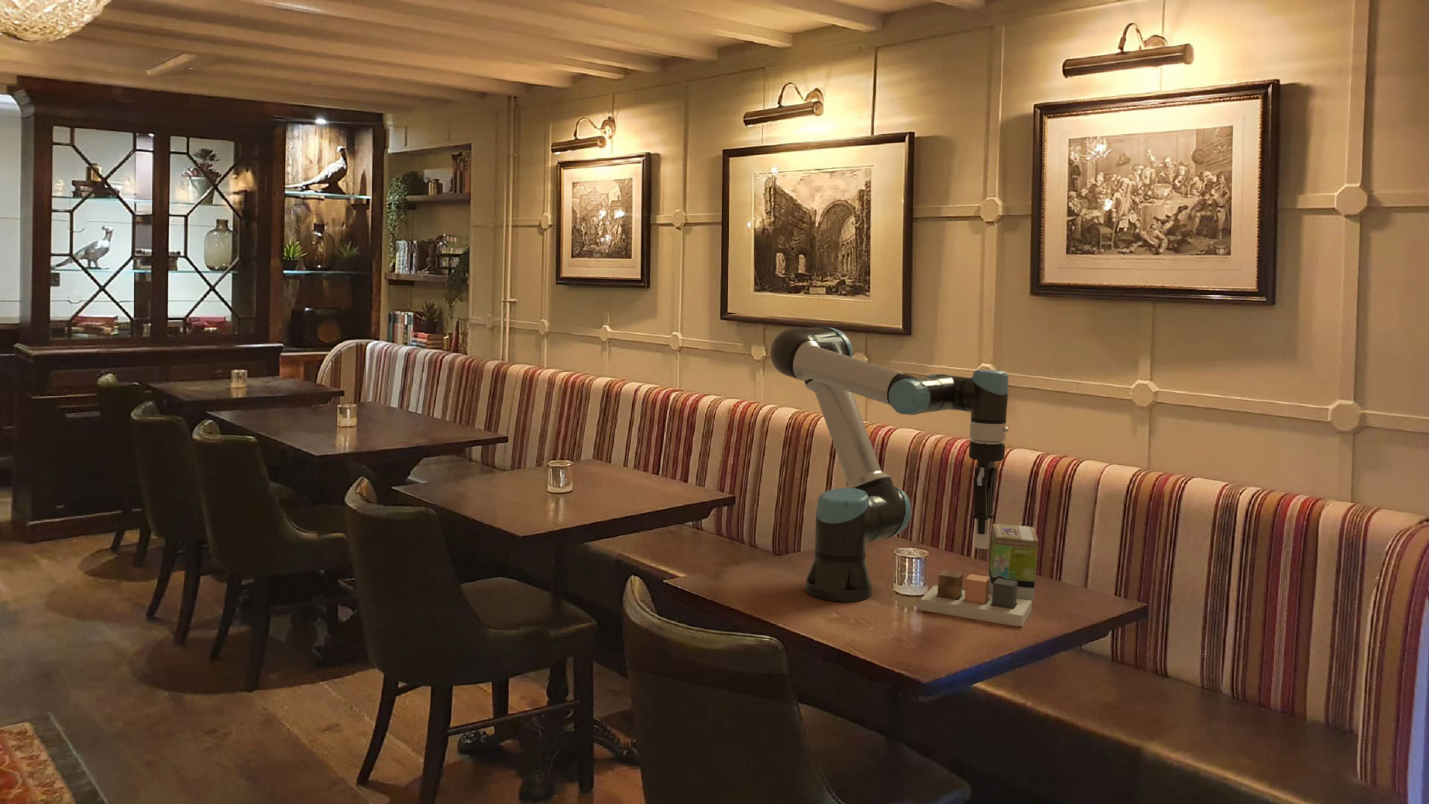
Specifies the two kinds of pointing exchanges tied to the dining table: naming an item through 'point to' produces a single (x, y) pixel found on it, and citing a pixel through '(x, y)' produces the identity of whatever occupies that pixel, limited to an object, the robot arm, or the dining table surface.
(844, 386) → the robot arm
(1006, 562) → the tea box
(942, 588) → the key walnut
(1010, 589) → the key dark grey
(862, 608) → the dining table surface
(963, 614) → the key panel
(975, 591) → the key terracotta
